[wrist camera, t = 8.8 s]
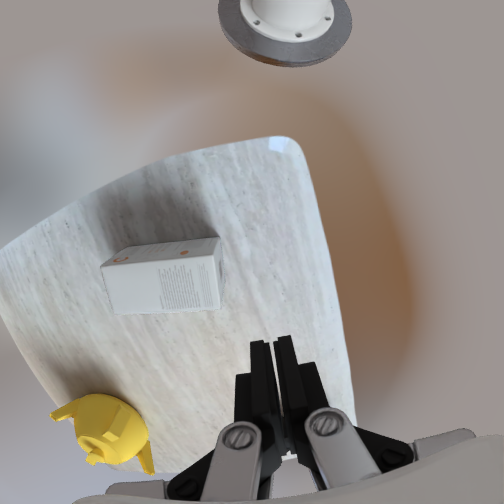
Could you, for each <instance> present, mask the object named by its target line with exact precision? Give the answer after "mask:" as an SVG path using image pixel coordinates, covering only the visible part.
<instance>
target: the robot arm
mask: <svg viewBox="0 0 504 504" xmlns="http://www.w3.org/2000/svg"><path fill="white" fill-rule="evenodd" d="M240 11H241V15H242V17H243V19H244V20H245V22H246V23H247V24H248V25H249V26H250V27H251V28H252V29H253V30H255V31H256V32H258V33H259V34H261V35H263V36H265V37H268V38H270V39H273V40H277V41H282V42H290V43H297V42H306V41H311V40H313V39H316V38H318V37H320V36H322V35H323V34H324V33H325V32H326V31H327V30H328V29H329V27H330V26H331V24H332V22H333V20H334V9H333V6H332V3H331V0H240ZM255 24H257V25H255ZM273 345H274V352H275V358H276V365H277V372H278V379H279V386H280V393H281V399H282V406H283V412H284V418H285V424H286V429H287V434H288V440H289V445H290V451H291V454H297V458H298V462H299V463H300V464H302V465H304V466H306V467H308V468H309V472H310V474H311V477H312V480H313V482H314V484H315V487H316V489H317V492H315V493H309V494H304V495H298V496H291V497H284V498H276V499H271V497H272V489H273V480H274V472H275V471H276V470H277V469H278V468H279V467H280V466H281V463H282V458H281V456H285V455H287V454H286V446H285V439H284V431H283V424H282V416H281V409H280V401H279V394H278V388H277V382H276V377H275V372H274V366H273V361H272V356H271V351H270V345H269V342H268V343H264V341H263V340H259V341H252V342H250V359H251V373H244V374H237V375H236V382H235V408H234V423H231V424H229V425H228V426H226V427H224V428H223V430H222V431H221V432H220V434H219V436H218V439H217V443H216V447H215V449H214V450H212V451H211V452H210V453H208V454H207V455H205V456H204V457H203V458H201V459H200V460H199V461H197V462H196V463H194V464H193V465H192V466H190V467H189V468H187V469H186V470H184V471H183V472H181V473H180V474H178V475H177V476H176V477H174V478H173V479H172V480H171V481H164V480H153V481H141V482H121V483H114V484H113V485H111V486H109V488H108V489H107V490H106V493H105V495H95V496H89V497H85V498H81V499H79V500H76V501H75V502H74V503H72V504H504V436H502V435H487V436H481V437H477V438H476V436H475V434H474V432H472V431H471V430H469V429H465V428H463V429H457V430H453V431H450V432H446V433H442V434H439V435H435V436H430V437H426V438H422V439H417V440H414V442H413V443H409V444H406V443H404V442H402V441H399V440H395V439H392V438H389V437H385V436H382V435H379V434H376V433H373V432H370V431H367V430H364V429H361V428H358V427H356V426H353V425H352V423H351V422H350V420H349V418H348V417H347V415H346V414H345V413H344V412H343V411H341V410H339V409H336V408H332V407H329V404H328V401H327V398H326V395H325V392H324V389H323V386H322V383H321V379H320V376H319V373H318V370H317V367H316V364H315V362H309V363H304V364H299V365H298V363H297V359H296V355H295V351H294V347H293V343H292V339H291V335H288V336H282V337H278V341H274V342H273Z"/></svg>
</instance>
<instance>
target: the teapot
mask: <svg viewBox="0 0 504 504" xmlns="http://www.w3.org/2000/svg"><path fill="white" fill-rule="evenodd" d="M49 416H50V417H51V418H52V419H53V420H55V421H56V422H57V421H59V420H62V419H66V418H69V417H72V418H74V427H75V433H76V437H77V441H78V443H79V445H80V446H81V447H82V448H83V449H84V450H85V451H86V452H87V453H88V456H87V458H86V462H88V463H90V464H92V465H95V464H96V462H97V461H98V462H101V463H103V462H105V463H109V464H120V463H123V462H125V461H127V460H129V459H131V458H132V457H134V456H135V455H136V456H138V459H139V461H140V463H141V465H142V467H143V469H144V473H147V474H149V475H154V474H155V470H154V465H153V460H152V454H151V448H150V441H148V436H149V434H148V429H147V426H146V424H145V422H144V421H143V419H142V418H141V416H140V415H139V414H138V412H137V411H136V410H135V409H133V408H132V407H131V406H130V405H128V404H127V403H125V402H124V401H122V400H120V399H118V398H116V397H113V396H110V395H106V394H89V395H86V396H84V397H82V398H81V399H79V398H78V399H76V400H74V401H72V402H70V403H68V404H66V405H65V406H63V407H61V408H59V409H57V410H55V411H53V412H52V413H50V415H49Z"/></svg>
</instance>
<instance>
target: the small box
mask: <svg viewBox="0 0 504 504" xmlns="http://www.w3.org/2000/svg"><path fill="white" fill-rule="evenodd" d="M100 268H101V272H102V276H103V280H104V284H105V287H106V291H107V294H108V298H109V301H110V305H111V308H112V311H113V314H114V315H137V314H160V313H179V312H195V311H210V310H220V309H222V301H223V293H224V286H225V282H226V281H225V271H224V263H223V255H222V247H221V240H220V237H213V238H204V239H195V240H187V241H177V242H168V243H158V244H149V245H140V246H132V247H126V248H125V249H123V250H122V251H120V252H118V253H117V254H115V255H114V256H113V257H111V258H110V259H109V260H107V261H106V262H105V263H103V264H102V265H101V266H100Z"/></svg>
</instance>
